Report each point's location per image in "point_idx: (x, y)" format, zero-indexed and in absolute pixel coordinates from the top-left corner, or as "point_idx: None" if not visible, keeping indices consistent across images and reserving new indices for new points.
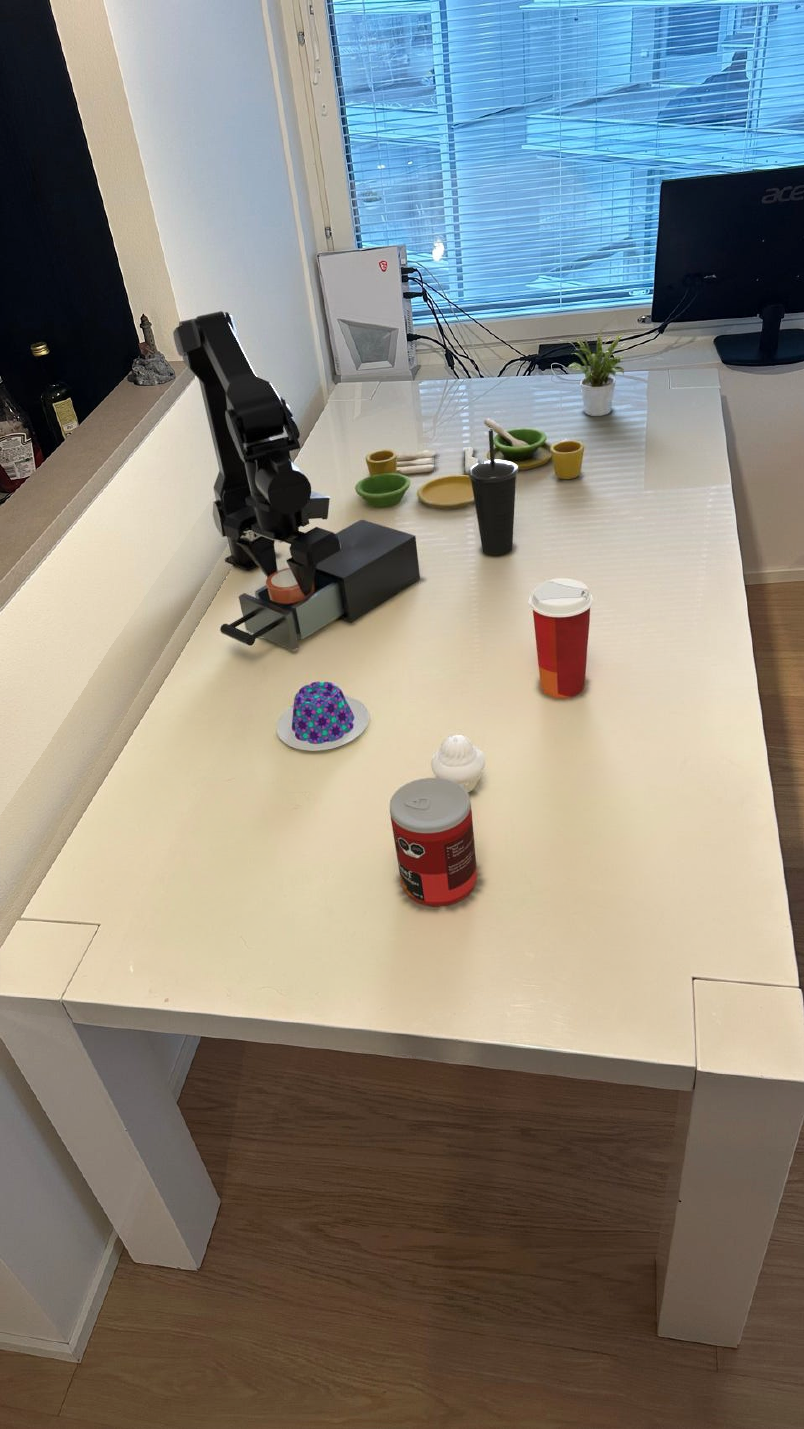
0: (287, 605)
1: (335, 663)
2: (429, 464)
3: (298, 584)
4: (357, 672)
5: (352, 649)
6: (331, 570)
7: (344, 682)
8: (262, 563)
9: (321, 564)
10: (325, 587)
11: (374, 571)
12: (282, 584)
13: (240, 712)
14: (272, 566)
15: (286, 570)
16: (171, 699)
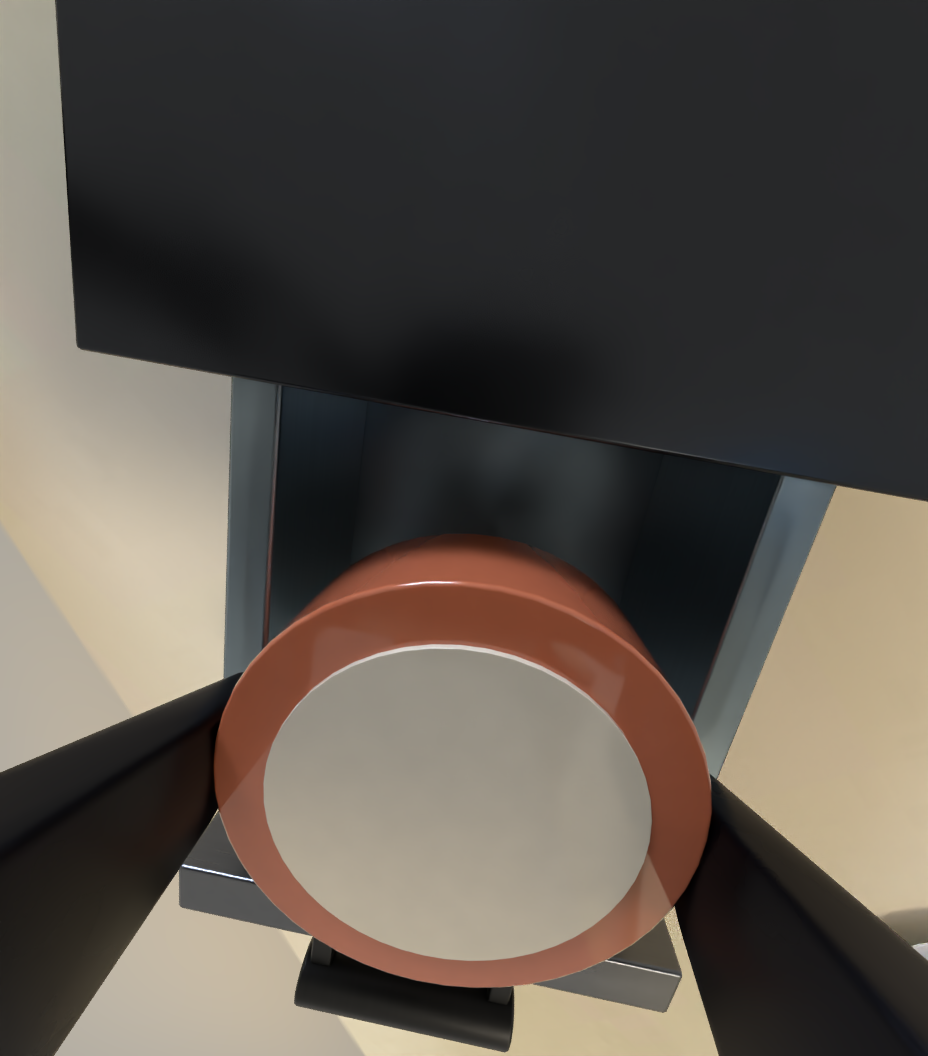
0: (353, 536)
1: (796, 748)
2: None
3: (714, 1009)
4: (924, 771)
5: (825, 643)
6: (764, 402)
7: (895, 834)
8: (47, 1038)
9: (541, 311)
10: (746, 603)
11: None
12: (472, 926)
13: (609, 1028)
14: (150, 821)
15: (311, 708)
16: (363, 1027)
